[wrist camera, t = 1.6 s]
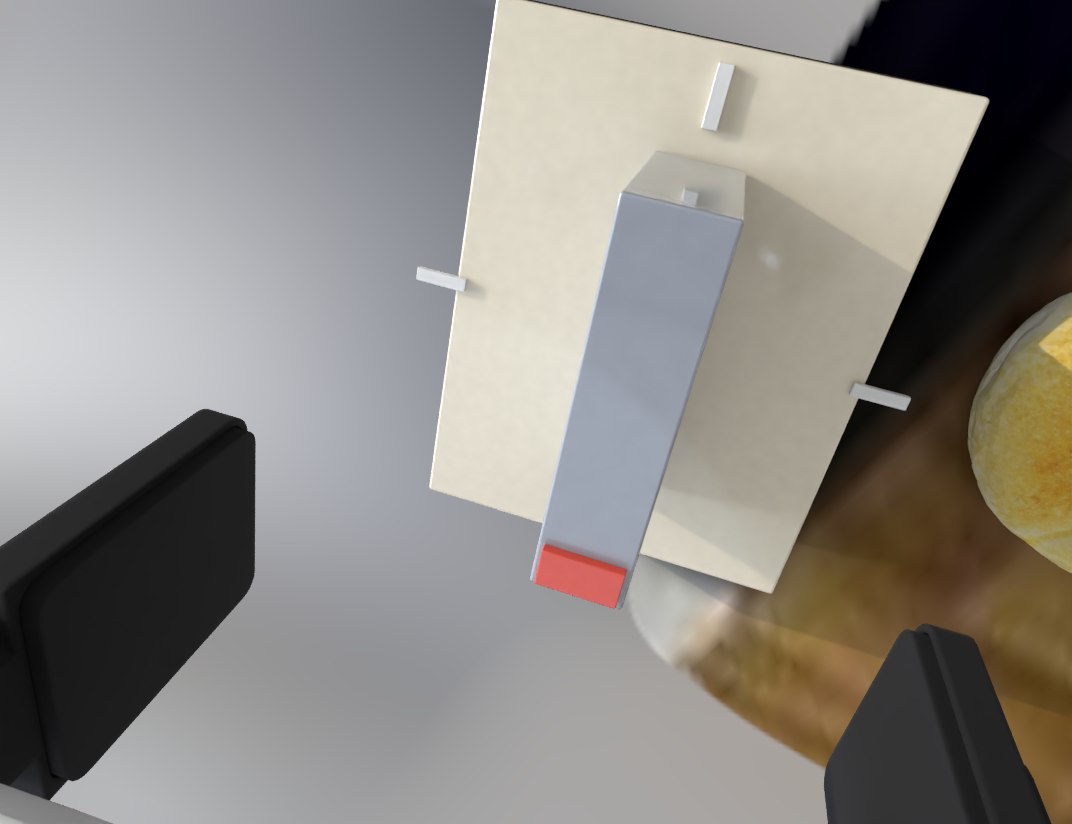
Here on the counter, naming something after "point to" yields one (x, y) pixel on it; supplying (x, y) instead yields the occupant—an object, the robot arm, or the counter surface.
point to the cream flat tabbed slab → (752, 283)
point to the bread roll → (1029, 432)
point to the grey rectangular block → (637, 370)
